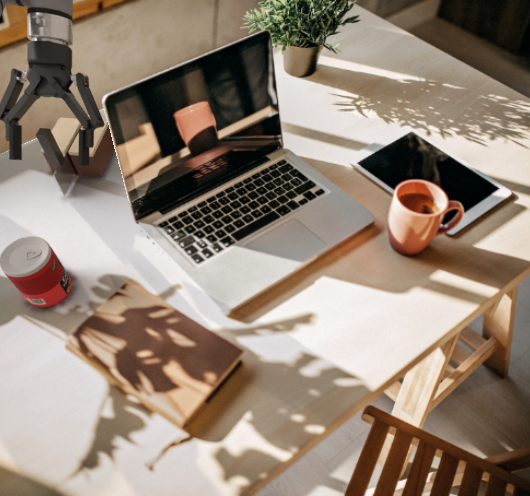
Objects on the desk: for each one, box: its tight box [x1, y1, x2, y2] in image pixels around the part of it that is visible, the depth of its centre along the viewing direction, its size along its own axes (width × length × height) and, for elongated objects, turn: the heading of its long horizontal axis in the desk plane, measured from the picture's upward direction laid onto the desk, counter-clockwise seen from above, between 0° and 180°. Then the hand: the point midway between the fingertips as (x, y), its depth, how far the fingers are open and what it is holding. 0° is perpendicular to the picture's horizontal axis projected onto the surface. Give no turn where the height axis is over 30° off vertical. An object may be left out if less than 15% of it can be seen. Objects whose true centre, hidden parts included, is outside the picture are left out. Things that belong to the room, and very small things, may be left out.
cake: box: [40, 117, 115, 178], centre depth 104 cm, size 10×11×7 cm
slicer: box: [35, 127, 77, 197], centre depth 95 cm, size 6×2×14 cm, turn 172°
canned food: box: [0, 235, 73, 309], centre depth 83 cm, size 8×8×11 cm
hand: (49, 162), depth 93 cm, fingers open, 13 cm apart
